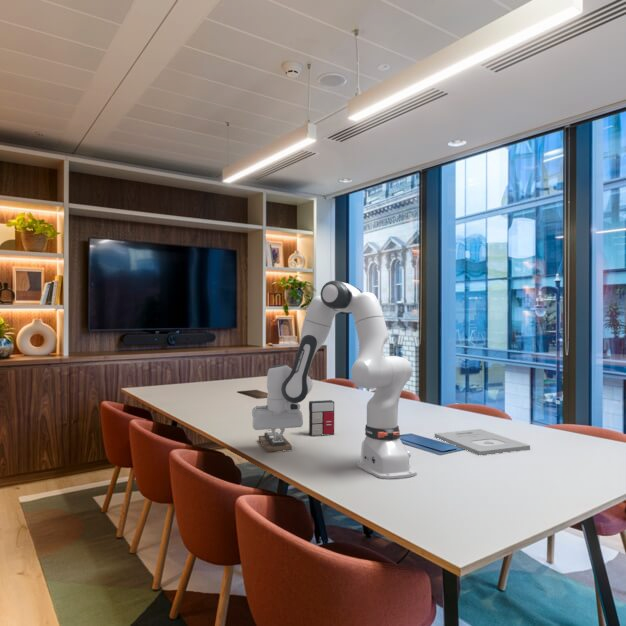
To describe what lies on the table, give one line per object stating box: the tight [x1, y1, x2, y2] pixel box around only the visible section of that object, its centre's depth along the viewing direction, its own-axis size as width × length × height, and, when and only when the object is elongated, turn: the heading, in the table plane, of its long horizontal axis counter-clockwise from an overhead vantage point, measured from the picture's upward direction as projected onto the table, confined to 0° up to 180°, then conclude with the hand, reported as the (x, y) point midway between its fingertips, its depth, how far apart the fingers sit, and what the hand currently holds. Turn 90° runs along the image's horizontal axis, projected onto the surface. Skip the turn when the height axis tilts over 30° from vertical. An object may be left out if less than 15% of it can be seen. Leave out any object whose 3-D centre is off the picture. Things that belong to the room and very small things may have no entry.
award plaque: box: [434, 428, 531, 456], centre depth 208 cm, size 25×30×2 cm
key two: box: [265, 429, 279, 435], centre depth 210 cm, size 4×4×2 cm
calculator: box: [308, 399, 335, 436], centre depth 222 cm, size 11×4×15 cm, turn 105°
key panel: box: [258, 432, 293, 453], centre depth 204 cm, size 19×10×3 cm, turn 16°
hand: (277, 439), depth 198 cm, fingers closed
